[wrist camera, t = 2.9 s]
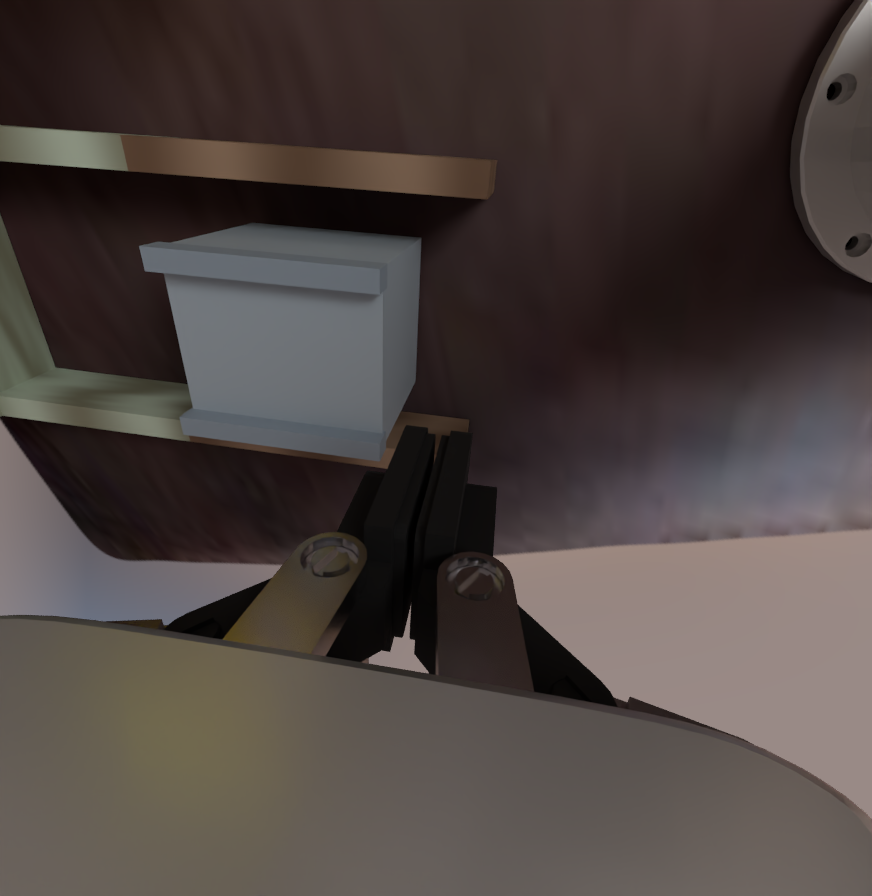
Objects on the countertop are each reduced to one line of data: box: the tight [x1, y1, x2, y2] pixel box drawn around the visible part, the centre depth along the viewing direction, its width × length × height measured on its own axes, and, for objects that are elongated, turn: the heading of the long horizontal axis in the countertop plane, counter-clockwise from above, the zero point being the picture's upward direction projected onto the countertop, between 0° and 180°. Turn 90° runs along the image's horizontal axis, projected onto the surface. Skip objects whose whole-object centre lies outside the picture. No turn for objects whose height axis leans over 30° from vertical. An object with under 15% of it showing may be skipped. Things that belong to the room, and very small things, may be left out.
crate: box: [139, 223, 421, 462], centre depth 21 cm, size 8×7×8 cm
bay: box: [0, 125, 497, 469], centre depth 19 cm, size 27×20×10 cm
